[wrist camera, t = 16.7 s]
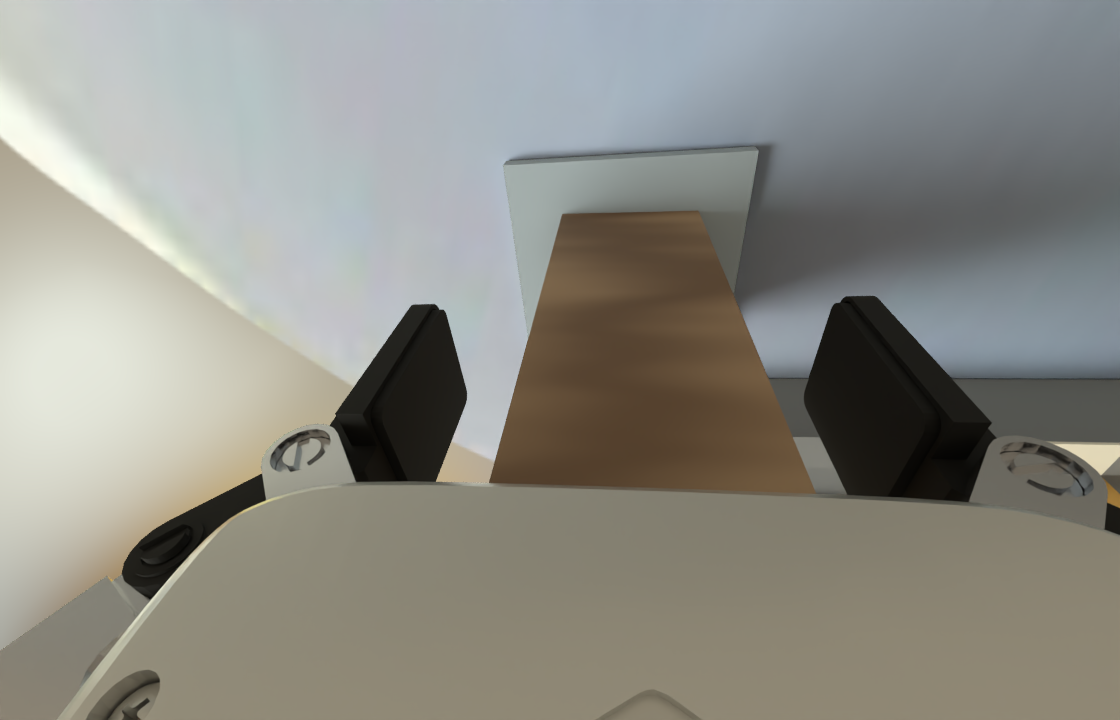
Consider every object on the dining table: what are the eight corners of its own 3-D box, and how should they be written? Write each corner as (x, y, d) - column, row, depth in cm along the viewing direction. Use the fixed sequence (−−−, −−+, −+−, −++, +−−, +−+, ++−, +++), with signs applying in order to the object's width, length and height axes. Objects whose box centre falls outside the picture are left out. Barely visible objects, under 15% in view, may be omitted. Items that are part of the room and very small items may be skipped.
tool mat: (754, 146, 12) (758, 150, 12) (720, 351, 17) (722, 359, 16) (506, 160, 13) (503, 165, 13) (533, 352, 18) (531, 360, 17)
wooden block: (698, 210, 13) (820, 504, 5) (683, 326, 16) (753, 646, 8) (561, 213, 14) (487, 489, 6) (568, 325, 16) (522, 628, 8)
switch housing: (1218, 379, 15) (1332, 449, 13) (1098, 495, 19) (1169, 566, 17) (676, 378, 18) (685, 437, 15) (665, 482, 21) (672, 542, 19)
